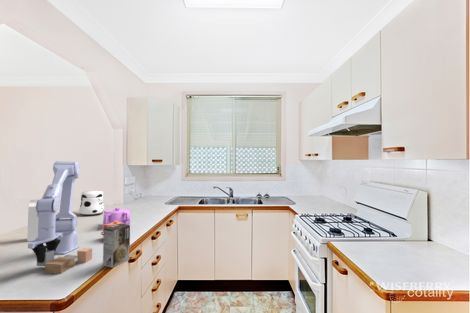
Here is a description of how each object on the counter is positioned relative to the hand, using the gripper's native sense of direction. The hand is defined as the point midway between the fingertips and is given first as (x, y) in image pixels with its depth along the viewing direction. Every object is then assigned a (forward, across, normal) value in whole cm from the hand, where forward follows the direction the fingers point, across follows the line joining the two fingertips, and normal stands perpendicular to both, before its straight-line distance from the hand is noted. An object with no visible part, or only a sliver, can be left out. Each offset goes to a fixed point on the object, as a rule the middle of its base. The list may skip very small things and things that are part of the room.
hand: (45, 259), depth 101 cm
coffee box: (+4, -9, +26) cm, 27 cm away
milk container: (+3, -92, -46) cm, 103 cm away
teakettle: (+3, -65, -8) cm, 66 cm away
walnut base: (+3, 0, +6) cm, 7 cm away
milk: (+3, -31, -36) cm, 47 cm away
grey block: (+2, 0, 0) cm, 2 cm away
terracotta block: (+3, -9, +10) cm, 14 cm away
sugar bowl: (+4, -39, +6) cm, 40 cm away
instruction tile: (+3, -9, +2) cm, 10 cm away
